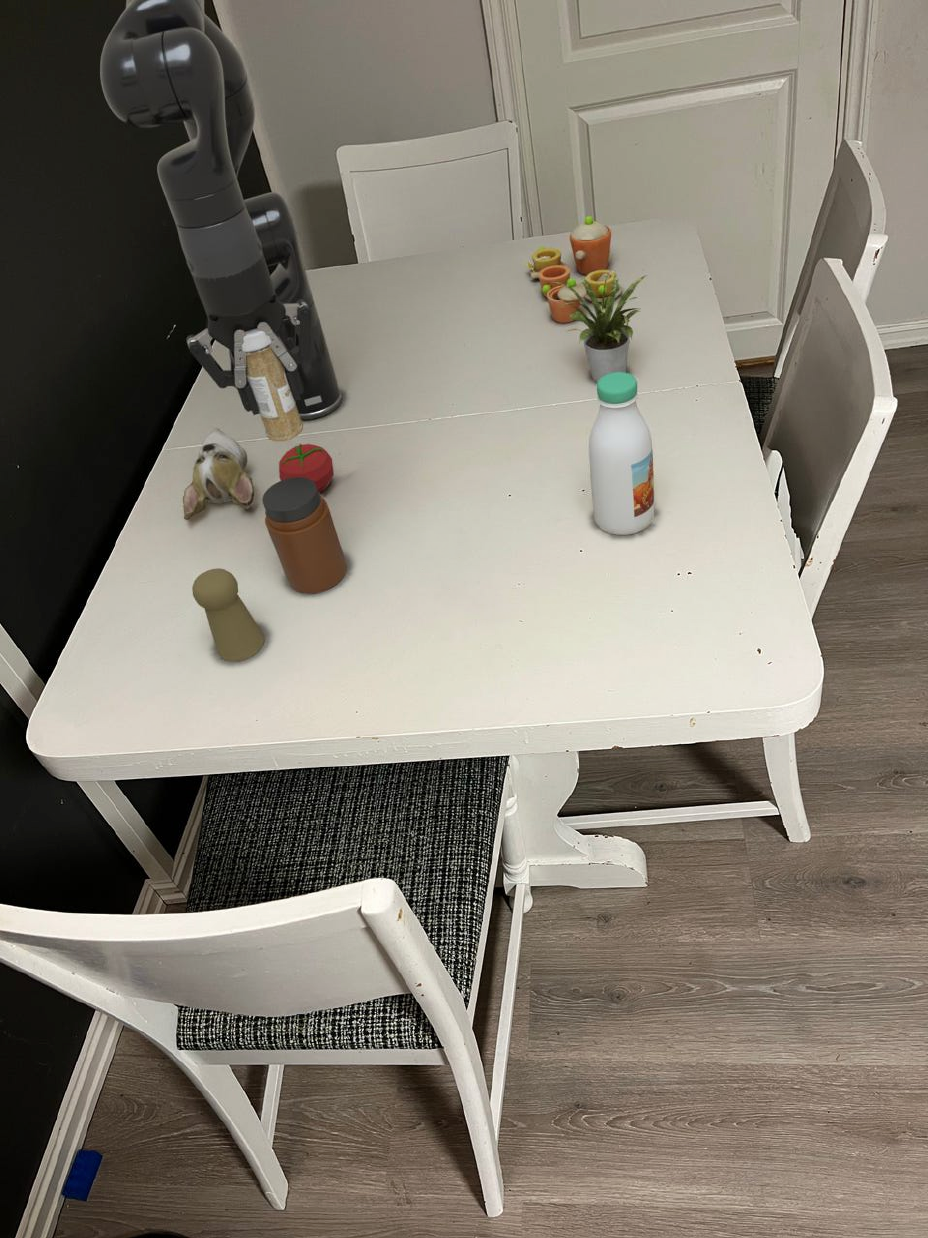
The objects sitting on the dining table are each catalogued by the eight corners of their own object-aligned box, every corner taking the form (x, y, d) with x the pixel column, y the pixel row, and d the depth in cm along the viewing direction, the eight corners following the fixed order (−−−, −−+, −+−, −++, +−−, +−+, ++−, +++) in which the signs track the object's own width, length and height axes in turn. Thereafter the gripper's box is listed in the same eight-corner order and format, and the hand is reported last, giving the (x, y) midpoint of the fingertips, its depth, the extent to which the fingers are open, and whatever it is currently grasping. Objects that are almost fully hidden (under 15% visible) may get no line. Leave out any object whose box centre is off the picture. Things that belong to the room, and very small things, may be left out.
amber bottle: (282, 566, 126) (251, 487, 118) (338, 545, 128) (312, 466, 119) (295, 601, 121) (264, 522, 112) (354, 580, 122) (328, 499, 113)
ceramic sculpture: (246, 411, 140) (238, 474, 129) (265, 457, 146) (259, 521, 136) (176, 424, 140) (163, 488, 130) (198, 470, 147) (187, 534, 136)
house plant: (542, 397, 146) (530, 297, 135) (569, 351, 155) (560, 254, 143) (633, 403, 141) (629, 300, 129) (656, 355, 149) (653, 255, 138)
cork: (219, 631, 119) (188, 565, 111) (266, 622, 119) (237, 556, 111) (214, 665, 115) (181, 600, 107) (263, 657, 114) (233, 590, 107)
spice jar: (311, 431, 109) (277, 323, 100) (276, 448, 108) (238, 340, 99) (293, 416, 112) (259, 310, 103) (259, 432, 111) (221, 326, 102)
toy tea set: (525, 267, 180) (519, 216, 173) (606, 251, 179) (603, 200, 172) (545, 331, 161) (539, 277, 154) (636, 314, 160) (634, 258, 153)
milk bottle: (616, 545, 119) (607, 407, 105) (582, 514, 124) (570, 380, 110) (666, 520, 120) (664, 381, 107) (631, 491, 126) (625, 356, 112)
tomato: (340, 498, 135) (326, 453, 130) (287, 510, 135) (271, 466, 130) (336, 467, 141) (323, 423, 136) (285, 479, 141) (270, 436, 136)
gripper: (284, 225, 99) (326, 370, 111) (152, 266, 97) (209, 409, 109) (301, 249, 94) (343, 399, 106) (161, 293, 92) (220, 440, 104)
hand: (275, 403), depth 107 cm, fingers closed on spice jar, 4 cm apart
